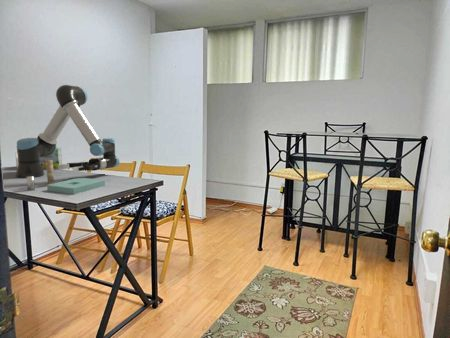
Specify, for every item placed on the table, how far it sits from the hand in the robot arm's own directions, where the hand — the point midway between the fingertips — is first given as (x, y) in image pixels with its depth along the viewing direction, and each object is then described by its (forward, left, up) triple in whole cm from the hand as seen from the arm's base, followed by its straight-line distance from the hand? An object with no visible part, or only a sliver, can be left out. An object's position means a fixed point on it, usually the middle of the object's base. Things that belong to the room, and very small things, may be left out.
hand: (65, 168), depth 183 cm
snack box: (-50, +29, -8) cm, 59 cm away
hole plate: (+16, -8, -8) cm, 20 cm away
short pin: (-2, -21, -8) cm, 22 cm away
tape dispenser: (-66, +30, -8) cm, 73 cm away
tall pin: (-2, -9, -8) cm, 12 cm away
